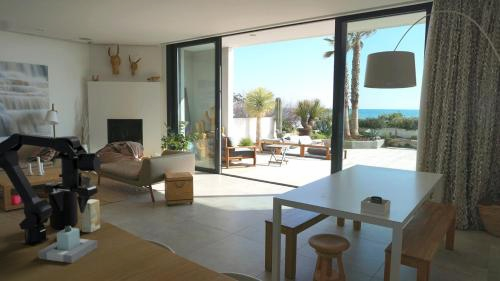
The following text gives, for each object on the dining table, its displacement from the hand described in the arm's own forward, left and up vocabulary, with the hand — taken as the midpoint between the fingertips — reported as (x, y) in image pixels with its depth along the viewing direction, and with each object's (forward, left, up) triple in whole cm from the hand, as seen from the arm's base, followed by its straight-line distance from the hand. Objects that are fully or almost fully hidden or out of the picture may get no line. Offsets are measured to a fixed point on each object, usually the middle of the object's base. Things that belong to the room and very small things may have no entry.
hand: (71, 211), depth 130 cm
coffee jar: (-16, +14, -12) cm, 25 cm away
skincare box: (-2, +13, -12) cm, 18 cm away
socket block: (+5, -8, -12) cm, 15 cm away
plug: (+5, -8, -12) cm, 15 cm away
